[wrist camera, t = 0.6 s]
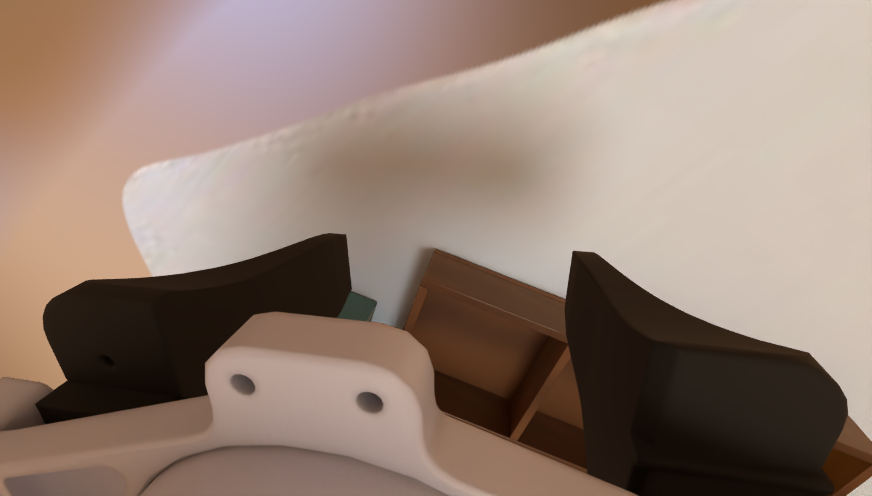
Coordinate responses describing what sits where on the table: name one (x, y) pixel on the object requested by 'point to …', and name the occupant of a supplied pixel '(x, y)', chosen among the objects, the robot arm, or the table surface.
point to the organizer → (532, 366)
